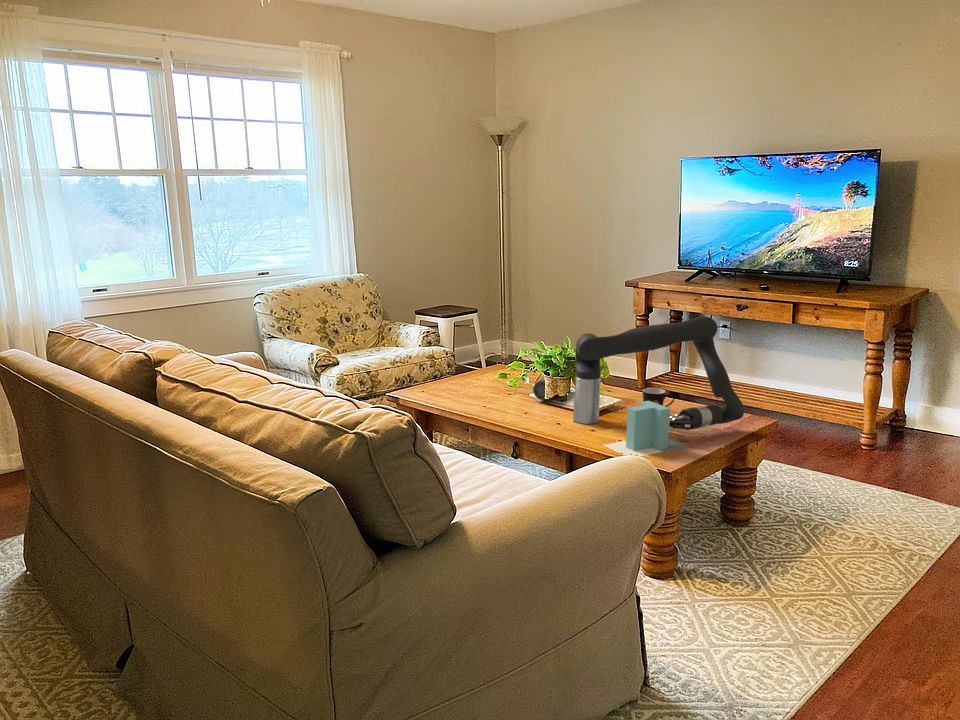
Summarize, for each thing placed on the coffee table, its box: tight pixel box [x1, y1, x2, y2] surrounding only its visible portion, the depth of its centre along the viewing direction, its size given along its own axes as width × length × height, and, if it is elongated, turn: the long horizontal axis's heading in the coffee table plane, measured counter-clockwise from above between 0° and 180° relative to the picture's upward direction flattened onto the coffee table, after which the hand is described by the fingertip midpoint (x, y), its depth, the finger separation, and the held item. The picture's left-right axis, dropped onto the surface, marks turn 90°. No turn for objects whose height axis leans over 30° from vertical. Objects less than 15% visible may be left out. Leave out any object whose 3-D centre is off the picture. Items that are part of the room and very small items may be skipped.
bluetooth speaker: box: [532, 376, 546, 401], centre depth 332 cm, size 23×9×10 cm, turn 157°
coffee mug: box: [642, 387, 675, 408], centre depth 305 cm, size 12×9×10 cm
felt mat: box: [602, 437, 691, 457], centre depth 270 cm, size 26×15×1 cm, turn 118°
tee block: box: [625, 401, 671, 451], centre depth 267 cm, size 12×11×14 cm
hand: (657, 424), depth 270 cm, fingers closed
